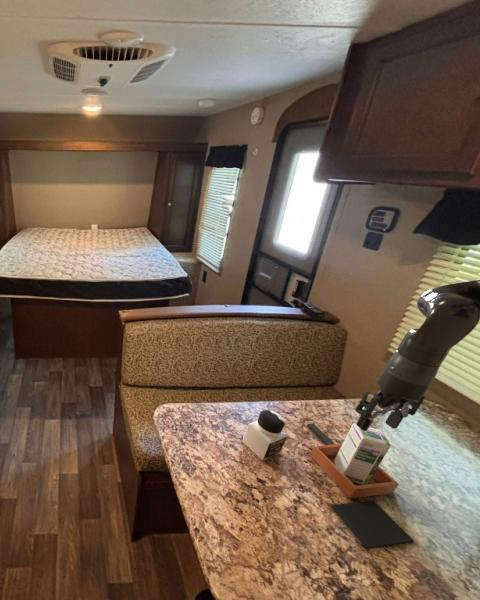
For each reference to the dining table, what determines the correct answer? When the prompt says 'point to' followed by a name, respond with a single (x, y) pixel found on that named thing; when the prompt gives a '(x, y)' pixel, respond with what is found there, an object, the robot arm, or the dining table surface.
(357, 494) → the pan
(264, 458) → the medicine bottle
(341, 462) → the syrup box
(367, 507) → the mat
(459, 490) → the dining table surface
